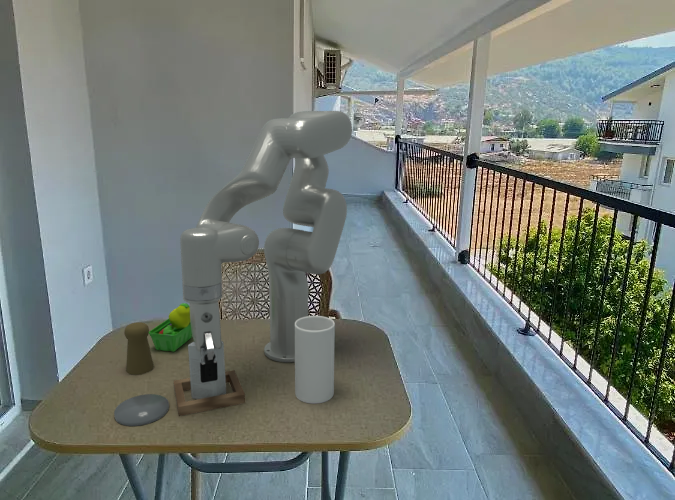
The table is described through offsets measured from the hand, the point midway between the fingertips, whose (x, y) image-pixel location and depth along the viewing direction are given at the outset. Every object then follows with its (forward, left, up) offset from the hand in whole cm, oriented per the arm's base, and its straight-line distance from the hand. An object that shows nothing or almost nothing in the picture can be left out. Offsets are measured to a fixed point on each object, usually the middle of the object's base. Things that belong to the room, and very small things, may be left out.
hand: (205, 370), depth 99 cm
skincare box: (0, 0, -6) cm, 6 cm away
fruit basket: (+4, -29, -6) cm, 30 cm away
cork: (+13, -18, -6) cm, 23 cm away
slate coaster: (+13, +1, -6) cm, 14 cm away
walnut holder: (0, 0, -6) cm, 6 cm away
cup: (-21, +7, -6) cm, 23 cm away
